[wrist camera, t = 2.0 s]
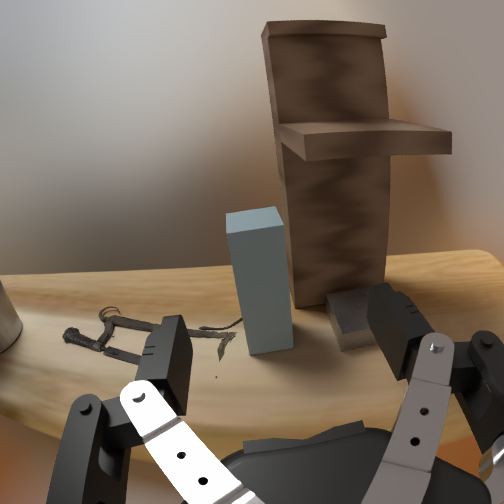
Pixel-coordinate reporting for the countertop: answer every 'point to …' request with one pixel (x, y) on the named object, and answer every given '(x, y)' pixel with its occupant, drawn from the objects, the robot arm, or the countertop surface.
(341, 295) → the grey square block
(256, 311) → the block
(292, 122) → the brown tall blocky piece
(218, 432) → the countertop surface
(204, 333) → the hacksaw
